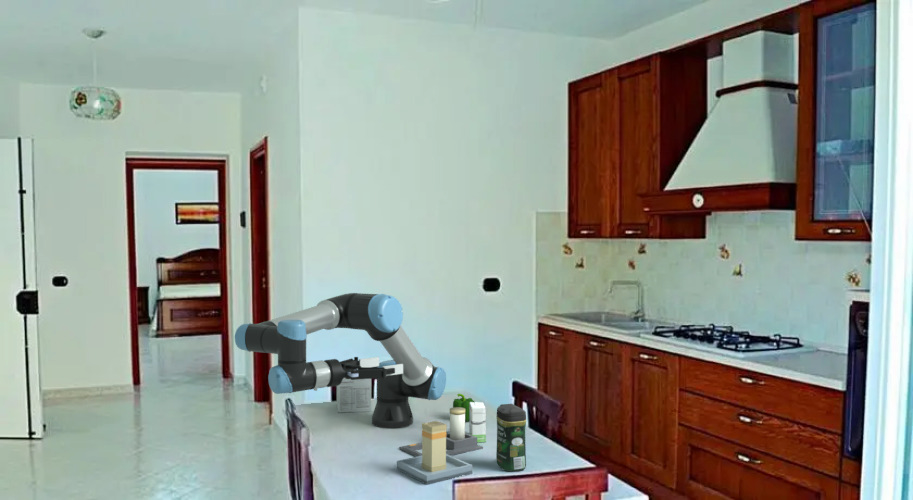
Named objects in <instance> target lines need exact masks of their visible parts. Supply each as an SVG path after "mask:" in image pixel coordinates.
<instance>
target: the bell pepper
mask: <svg viewBox="0 0 913 500" xmlns="http://www.w3.org/2000/svg"><path fill="white" fill-rule="evenodd" d="M456 395H457V397H460V398H454V399H453V401H452V408H454V407H461V408H465V422H470V402H475V400H473V398H471V397H468V398H466V397H465V395H464V394H463V393H457V394H456Z"/></svg>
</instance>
